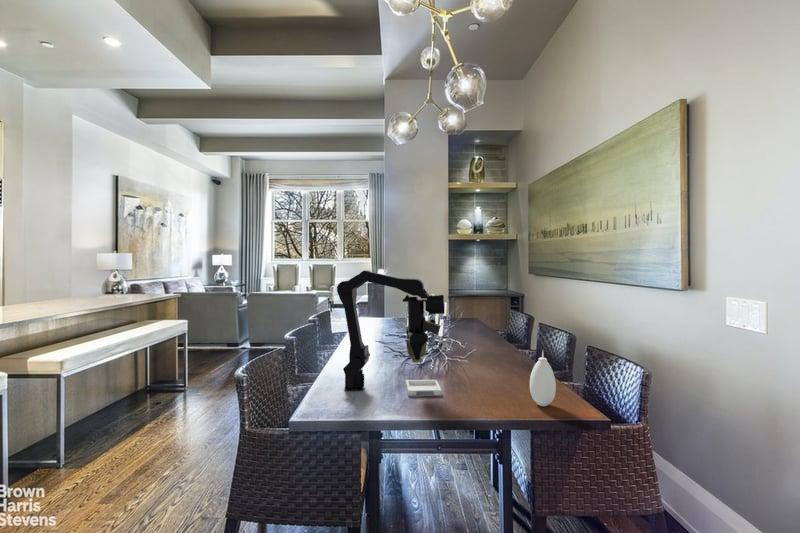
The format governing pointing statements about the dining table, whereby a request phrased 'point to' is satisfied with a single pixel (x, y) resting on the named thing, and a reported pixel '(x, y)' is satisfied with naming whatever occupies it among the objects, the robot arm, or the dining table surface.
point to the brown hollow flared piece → (413, 353)
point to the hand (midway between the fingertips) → (416, 357)
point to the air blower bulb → (542, 382)
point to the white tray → (423, 388)
